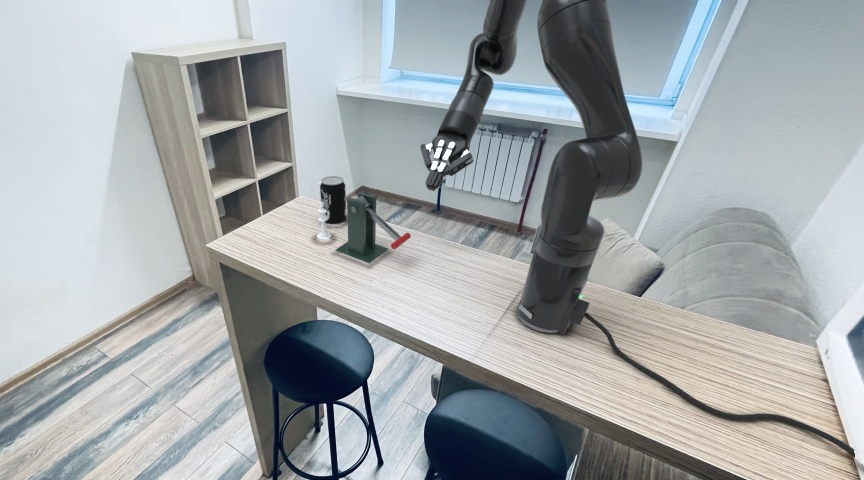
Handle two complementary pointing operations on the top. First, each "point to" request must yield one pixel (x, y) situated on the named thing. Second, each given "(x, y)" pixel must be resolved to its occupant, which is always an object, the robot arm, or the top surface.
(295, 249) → the top surface
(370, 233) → the bracket
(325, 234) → the chess piece
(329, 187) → the beverage can
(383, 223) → the lever
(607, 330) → the robot arm
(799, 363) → the top surface
